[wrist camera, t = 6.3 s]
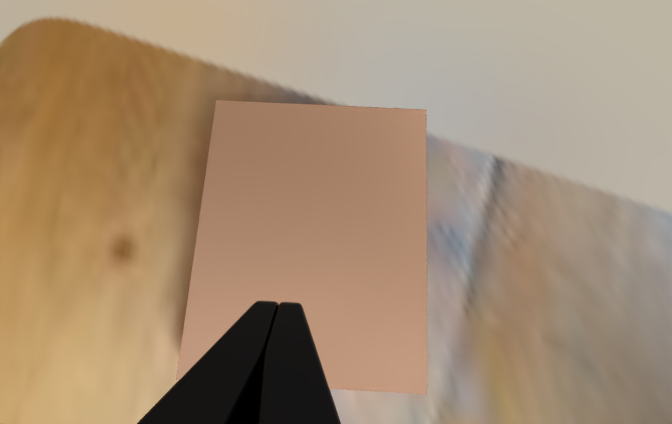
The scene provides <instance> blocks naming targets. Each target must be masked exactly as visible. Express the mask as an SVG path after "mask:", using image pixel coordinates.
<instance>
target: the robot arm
mask: <svg viewBox="0 0 672 424" xmlns="http://www.w3.org/2000/svg"><path fill="white" fill-rule="evenodd" d="M137 424H341V423H340V419H339V416H338V413H337V410H336V407H335V404H334V401H333V398H332V395H331V392H330V389H329V386H328V383H327V380H326V377H325V374H324V371H323V368H322V364H321V361H320V358H319V355H318V352H317V349H316V346H315V343H314V340H313V337H312V334H311V331H310V328H309V325H308V322H307V319H306V316H305V313H304V309H303V307H302V305H301V304H300V303H297V302H281V303H280V304H278V303H277V302H275V301H256V302H255V303H254V304H253V305H252V306H251V307H250V308H249V309H248V310H247V311H246V312H245V313H244V314H243V315H242V316H241V317H240V318H239V319H238V320H237V321H236V322H235V323H234V324H233V325H232V326H231V327H230V328H229V329H228V330H227V331H226V332H225V334H224V335H223V336H222V337H221V338H220V339H219V340H218V341H217V342H216V343H215V344H214V345H213V346H212V347H211V348H210V349H209V350H208V351H207V352H206V353H205V354H204V355H203V356H202V357H201V358H200V359H199V360H198V361H197V362H196V363H195V364H194V365H193V366H192V367H191V368H190V370H189V371H188V372H187V373H186V374H185V375H184V376H183V377H182V378H181V379H180V380H179V381H178V382H177V383H176V384H175V385H174V386H173V387H172V388H171V389H170V390H169V391H168V392H167V393H166V394H165V395H164V396H163V397H162V398H161V399H160V400H159V401H158V402H157V403H156V405H155V406H154V407H153V408H152V409H151V410H150V411H149V412H148V413H147V414H146V415H145V416H144V417H143V418H142V419H141V420H140V421H139V422H138V423H137Z"/></svg>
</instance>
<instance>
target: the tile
mask: <svg viewBox="0 0 672 424" xmlns="http://www.w3.org/2000/svg"><path fill="white" fill-rule="evenodd" d="M256 301H275V302H277V303H278V304H280V303H281V302H297V303H300V304H301V305H302V307H303V309H304V313H305V316H306V319H307V322H308V325H309V328H310V331H311V334H312V337H313V340H314V343H315V346H316V349H317V352H318V355H319V358H320V361H321V364H322V368H323V371H324V374H325V377H326V380H327V383H328V386H329V389H346V390H363V391H380V392H397V393H415V394H427V154H426V110H421V109H399V108H378V107H356V106H334V105H312V104H291V103H269V102H247V101H225V100H216V104H215V111H214V118H213V125H212V132H211V139H210V146H209V153H208V160H207V167H206V174H205V181H204V188H203V195H202V202H201V209H200V216H199V223H198V230H197V237H196V244H195V251H194V258H193V265H192V272H191V279H190V286H189V293H188V300H187V307H186V314H185V321H184V328H183V335H182V342H181V349H180V357H179V364H178V371H177V378H176V380H180V379H181V378H182V377H183V376H184V375H185V374H186V373H187V372H188V371H189V370H190V368H191V367H192V366H193V365H194V364H195V363H196V362H197V361H198V360H199V359H200V358H201V357H202V356H203V355H204V354H205V353H206V352H207V351H208V350H209V349H210V348H211V347H212V346H213V345H214V344H215V343H216V342H217V341H218V340H219V339H220V338H221V337H222V336H223V335H224V334H225V332H226V331H227V330H228V329H229V328H230V327H231V326H232V325H233V324H234V323H235V322H236V321H237V320H238V319H239V318H240V317H241V316H242V315H243V314H244V313H245V312H246V311H247V310H248V309H249V308H250V307H251V306H252V305H253V304H254V303H255V302H256Z"/></svg>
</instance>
